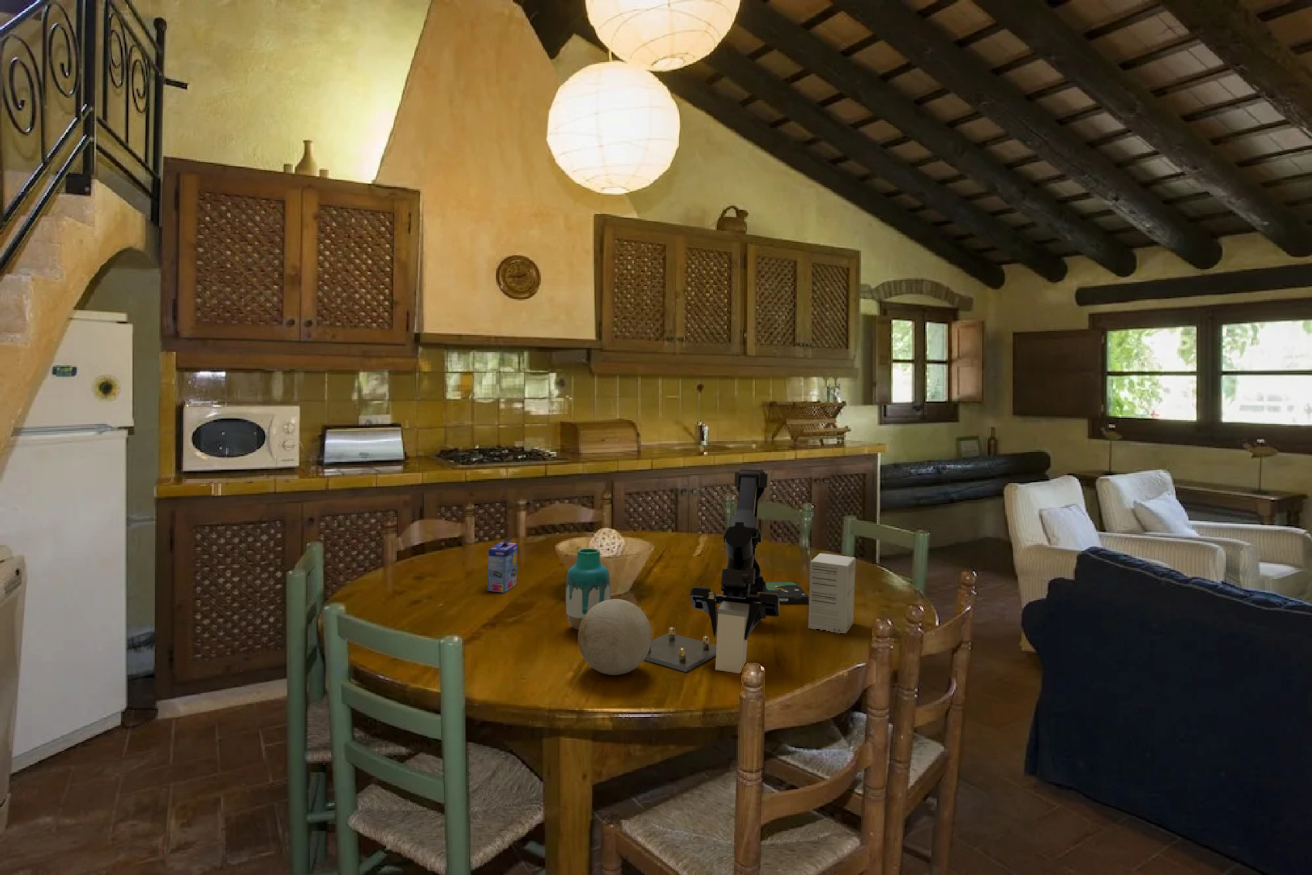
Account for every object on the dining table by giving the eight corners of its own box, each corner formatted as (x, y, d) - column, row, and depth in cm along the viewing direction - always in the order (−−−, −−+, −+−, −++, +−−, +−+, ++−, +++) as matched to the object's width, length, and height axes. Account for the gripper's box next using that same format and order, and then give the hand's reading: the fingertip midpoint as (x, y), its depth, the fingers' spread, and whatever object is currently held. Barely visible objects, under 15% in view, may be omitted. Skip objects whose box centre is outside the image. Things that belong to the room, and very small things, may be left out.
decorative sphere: (653, 686, 148) (654, 611, 147) (576, 687, 147) (577, 612, 146) (648, 657, 163) (649, 589, 162) (578, 659, 162) (579, 590, 160)
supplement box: (817, 617, 192) (819, 552, 190) (853, 623, 188) (856, 556, 186) (807, 628, 183) (809, 560, 182) (845, 634, 179) (848, 565, 178)
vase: (557, 633, 178) (558, 553, 176) (577, 619, 187) (578, 543, 186) (598, 639, 174) (599, 557, 172) (617, 625, 184) (617, 547, 182)
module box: (720, 659, 162) (723, 600, 161) (745, 663, 160) (749, 604, 159) (715, 669, 157) (718, 608, 155) (741, 673, 155) (744, 612, 154)
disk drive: (809, 606, 203) (795, 590, 218) (810, 596, 203) (795, 580, 218) (771, 607, 202) (759, 590, 217) (772, 596, 202) (760, 580, 217)
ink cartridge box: (505, 593, 209) (505, 541, 208) (486, 592, 210) (486, 540, 209) (518, 583, 219) (518, 534, 218) (500, 582, 220) (499, 533, 218)
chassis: (668, 636, 176) (668, 622, 176) (723, 651, 167) (724, 636, 167) (628, 655, 164) (628, 639, 164) (686, 672, 155) (686, 655, 155)
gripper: (692, 549, 163) (680, 614, 153) (780, 555, 158) (773, 623, 148) (698, 576, 171) (687, 639, 161) (782, 583, 166) (775, 649, 156)
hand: (729, 637), depth 156 cm, fingers closed on module box, 6 cm apart
